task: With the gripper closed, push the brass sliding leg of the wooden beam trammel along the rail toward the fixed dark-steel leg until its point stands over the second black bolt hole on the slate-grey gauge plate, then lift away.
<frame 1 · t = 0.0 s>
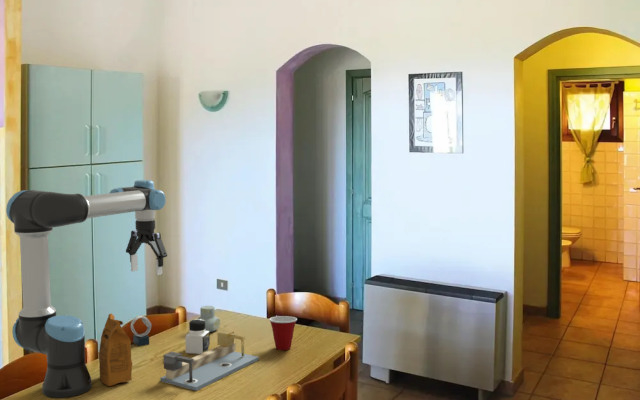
hand: (146, 272, 266), 28 cm above the table, tool pointing down, fingers open, 13 cm apart
sliding leg: (232, 343, 250), point 5 cm above the table, slide at 0.0 cm
gauge plate: (211, 370, 238), on the table
plastic cup: (283, 348, 262), on the table
trammel beam: (202, 366, 242), resting on gauge plate
coffee package: (115, 380, 229), on the table
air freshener: (207, 330, 284), on the table
medicine bottle: (197, 351, 258), on the table
watch: (141, 343, 267), on the table
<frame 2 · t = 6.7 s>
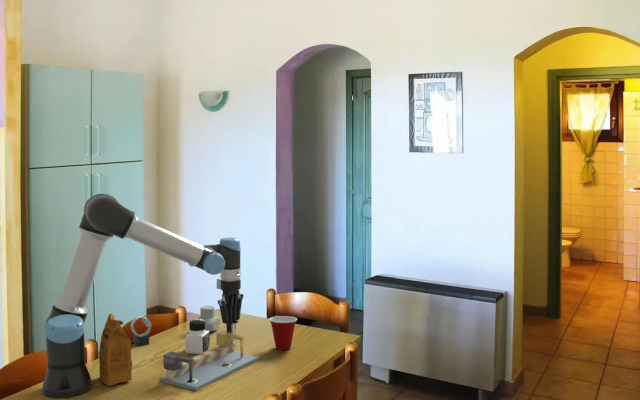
hand: (231, 340, 255), 5 cm above the table, tool pointing down, fingers closed
sliding leg: (231, 343, 250), point 5 cm above the table, slide at 0.6 cm, touching gripper
everything else where it was.
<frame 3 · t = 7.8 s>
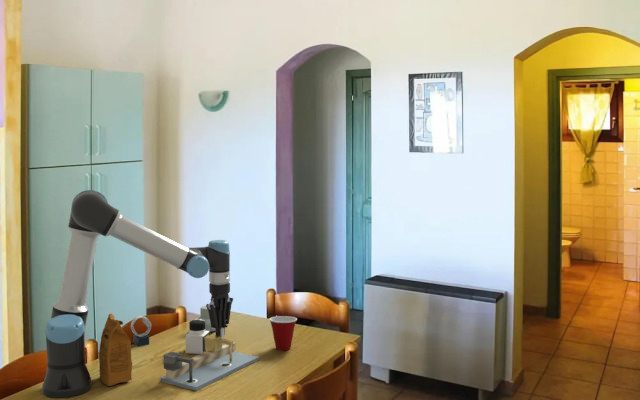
hand: (220, 344, 250), 5 cm above the table, tool pointing down, fingers closed
sliding leg: (220, 348, 244), point 5 cm above the table, slide at 7.0 cm, touching gripper
everything else where it was.
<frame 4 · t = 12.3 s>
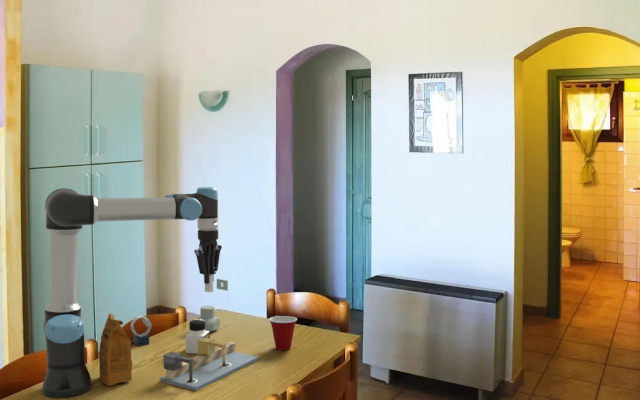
hand: (209, 291, 251), 24 cm above the table, tool pointing down, fingers closed
sliding leg: (213, 351, 241), point 5 cm above the table, slide at 10.9 cm
everything else where it was.
at the end: sliding leg slide at 10.9 cm; the gripper is holding nothing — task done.
